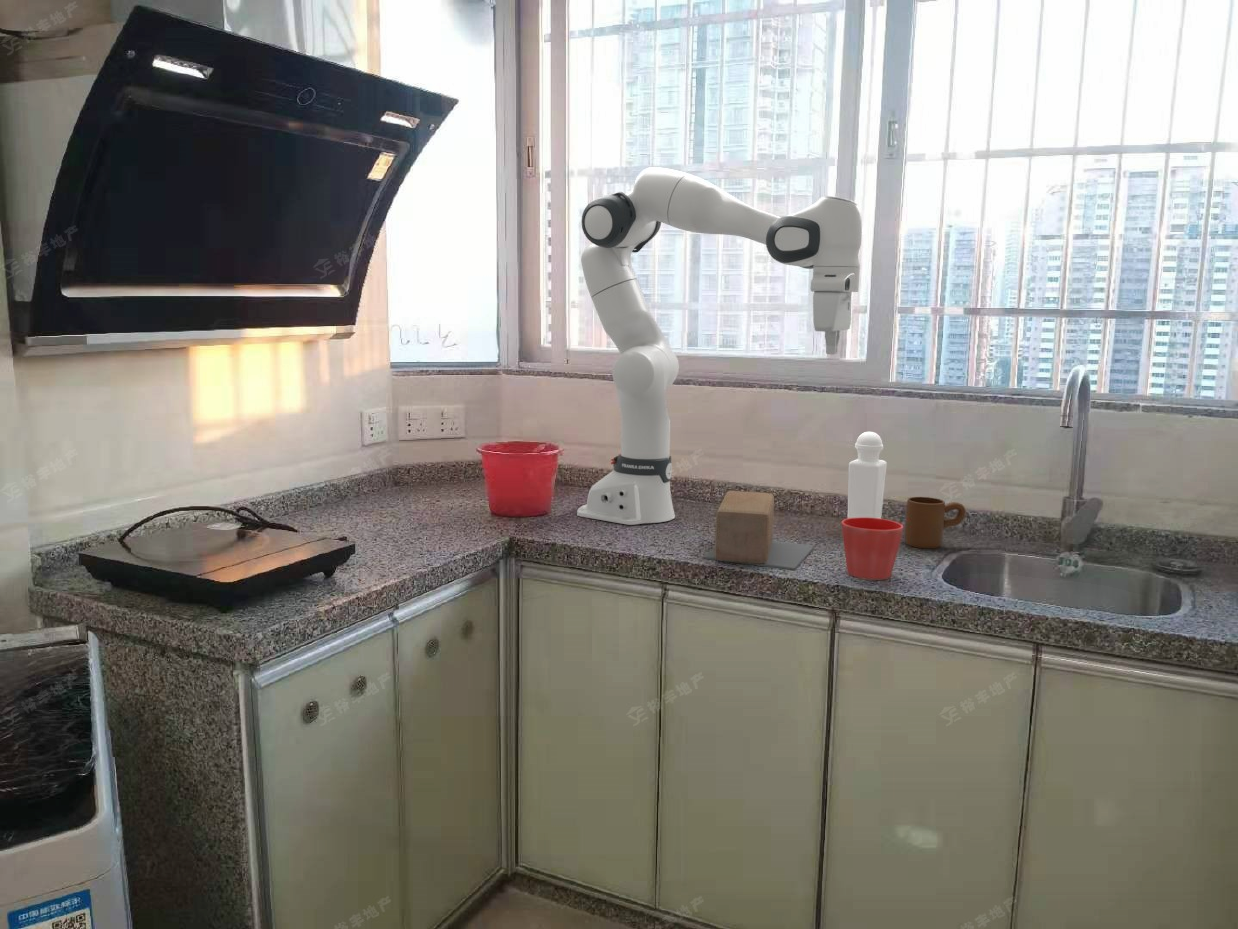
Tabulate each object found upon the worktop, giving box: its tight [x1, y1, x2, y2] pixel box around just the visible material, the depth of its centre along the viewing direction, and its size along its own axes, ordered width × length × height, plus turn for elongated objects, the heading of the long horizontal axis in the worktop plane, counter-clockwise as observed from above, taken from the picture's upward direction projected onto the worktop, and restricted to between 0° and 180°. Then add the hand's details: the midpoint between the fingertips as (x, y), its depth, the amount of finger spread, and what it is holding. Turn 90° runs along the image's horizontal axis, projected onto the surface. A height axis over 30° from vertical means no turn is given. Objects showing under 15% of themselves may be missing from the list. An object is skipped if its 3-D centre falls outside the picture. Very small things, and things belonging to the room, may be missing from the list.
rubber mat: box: [702, 540, 815, 571], centre depth 188 cm, size 18×18×1 cm
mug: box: [903, 496, 967, 550], centre depth 196 cm, size 12×8×9 cm, turn 87°
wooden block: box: [714, 490, 775, 564], centre depth 188 cm, size 10×10×20 cm
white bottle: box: [847, 431, 888, 519], centre depth 205 cm, size 6×6×22 cm
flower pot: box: [840, 517, 904, 581], centre depth 174 cm, size 11×11×10 cm
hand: (831, 354), depth 187 cm, fingers closed
